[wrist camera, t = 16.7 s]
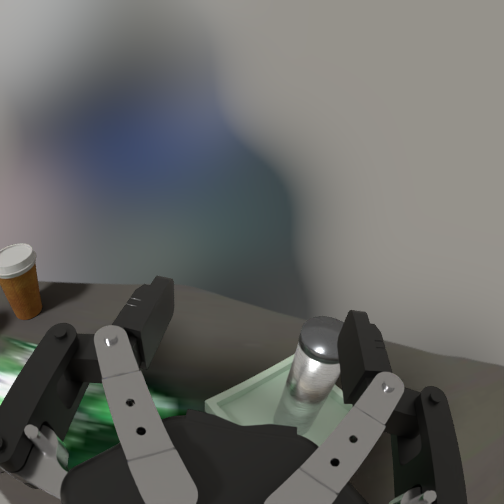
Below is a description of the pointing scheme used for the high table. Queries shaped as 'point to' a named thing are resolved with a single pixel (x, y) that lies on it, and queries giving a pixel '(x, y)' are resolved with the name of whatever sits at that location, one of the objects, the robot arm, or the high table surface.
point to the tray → (274, 403)
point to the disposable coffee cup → (20, 280)
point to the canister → (310, 374)
